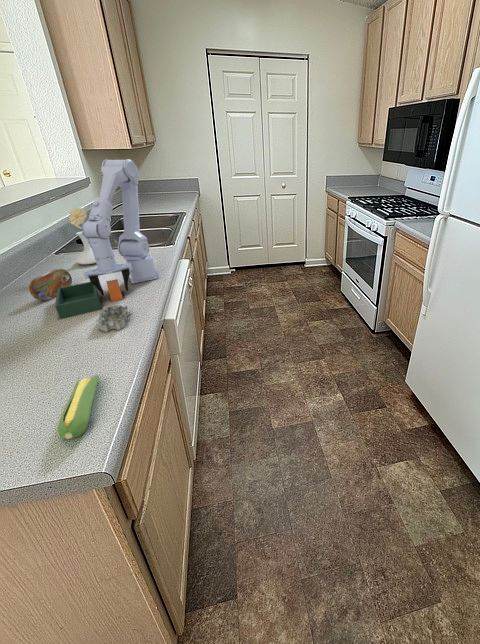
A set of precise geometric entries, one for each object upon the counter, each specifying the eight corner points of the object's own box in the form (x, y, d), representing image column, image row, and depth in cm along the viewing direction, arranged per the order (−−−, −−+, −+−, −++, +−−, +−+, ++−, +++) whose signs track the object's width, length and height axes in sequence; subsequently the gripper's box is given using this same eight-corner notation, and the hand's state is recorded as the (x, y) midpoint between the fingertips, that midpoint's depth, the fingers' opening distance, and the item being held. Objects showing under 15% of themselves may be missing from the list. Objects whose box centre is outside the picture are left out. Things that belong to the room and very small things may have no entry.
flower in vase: (72, 263, 148) (52, 207, 137) (97, 256, 157) (80, 202, 146) (88, 269, 142) (68, 210, 131) (113, 261, 151) (97, 205, 139)
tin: (40, 304, 114) (31, 282, 110) (33, 303, 115) (23, 281, 111) (75, 286, 127) (68, 265, 123) (68, 285, 128) (60, 265, 124)
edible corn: (57, 449, 62) (48, 432, 60) (81, 381, 78) (75, 365, 76) (88, 441, 63) (80, 424, 61) (105, 375, 80) (100, 360, 78)
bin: (99, 291, 122) (95, 280, 120) (101, 308, 110) (97, 296, 108) (61, 299, 117) (57, 288, 115) (60, 318, 105) (55, 306, 103)
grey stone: (124, 329, 99) (121, 317, 97) (97, 333, 97) (92, 321, 95) (131, 312, 108) (128, 301, 106) (106, 315, 106) (102, 304, 104)
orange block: (120, 291, 122) (117, 279, 120) (122, 298, 117) (119, 285, 114) (110, 293, 120) (106, 281, 118) (111, 301, 115) (107, 288, 113)
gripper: (79, 264, 105) (92, 301, 111) (129, 255, 112) (138, 291, 118) (79, 257, 111) (91, 294, 117) (126, 249, 117) (136, 284, 123)
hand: (115, 292), depth 118 cm, fingers open, 7 cm apart
